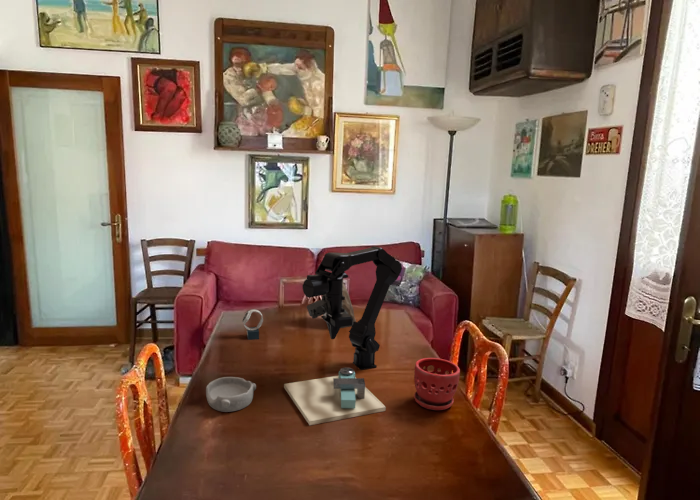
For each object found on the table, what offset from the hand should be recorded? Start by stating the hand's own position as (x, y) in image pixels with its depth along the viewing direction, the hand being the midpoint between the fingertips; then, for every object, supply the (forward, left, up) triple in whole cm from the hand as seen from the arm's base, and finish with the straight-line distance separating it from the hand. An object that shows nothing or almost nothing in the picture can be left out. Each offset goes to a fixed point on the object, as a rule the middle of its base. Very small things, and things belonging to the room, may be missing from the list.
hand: (332, 338), depth 164 cm
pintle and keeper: (0, +12, -12) cm, 17 cm away
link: (+1, +15, -11) cm, 19 cm away
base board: (+6, +15, -13) cm, 20 cm away
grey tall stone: (-23, -47, -13) cm, 54 cm away
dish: (+34, +6, -13) cm, 37 cm away
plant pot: (-22, +28, -13) cm, 38 cm away
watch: (+16, -44, -13) cm, 49 cm away
